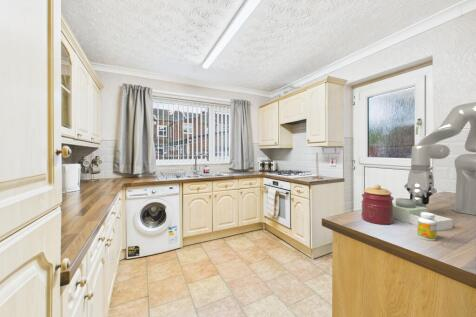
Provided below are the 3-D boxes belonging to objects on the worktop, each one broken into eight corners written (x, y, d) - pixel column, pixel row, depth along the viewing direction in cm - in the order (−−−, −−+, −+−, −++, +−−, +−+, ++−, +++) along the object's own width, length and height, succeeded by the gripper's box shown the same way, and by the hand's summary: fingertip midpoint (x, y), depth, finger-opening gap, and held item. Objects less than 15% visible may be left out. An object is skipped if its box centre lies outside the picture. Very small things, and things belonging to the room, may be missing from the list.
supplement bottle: (413, 235, 84) (414, 211, 84) (426, 234, 85) (427, 211, 84) (427, 241, 79) (428, 216, 78) (440, 240, 79) (441, 215, 79)
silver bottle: (430, 216, 106) (431, 177, 105) (415, 215, 107) (416, 177, 106) (421, 212, 112) (423, 176, 111) (407, 212, 114) (408, 175, 113)
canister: (375, 226, 94) (376, 187, 93) (355, 216, 107) (355, 182, 106) (400, 224, 96) (401, 186, 95) (377, 215, 109) (378, 181, 108)
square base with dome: (402, 213, 112) (402, 196, 112) (453, 228, 91) (454, 208, 91) (384, 215, 109) (385, 198, 109) (433, 231, 88) (434, 210, 88)
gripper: (445, 169, 101) (443, 206, 102) (408, 166, 118) (407, 198, 119) (434, 170, 99) (432, 207, 100) (398, 167, 116) (397, 199, 117)
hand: (419, 202), depth 110 cm, fingers closed on silver bottle, 5 cm apart
